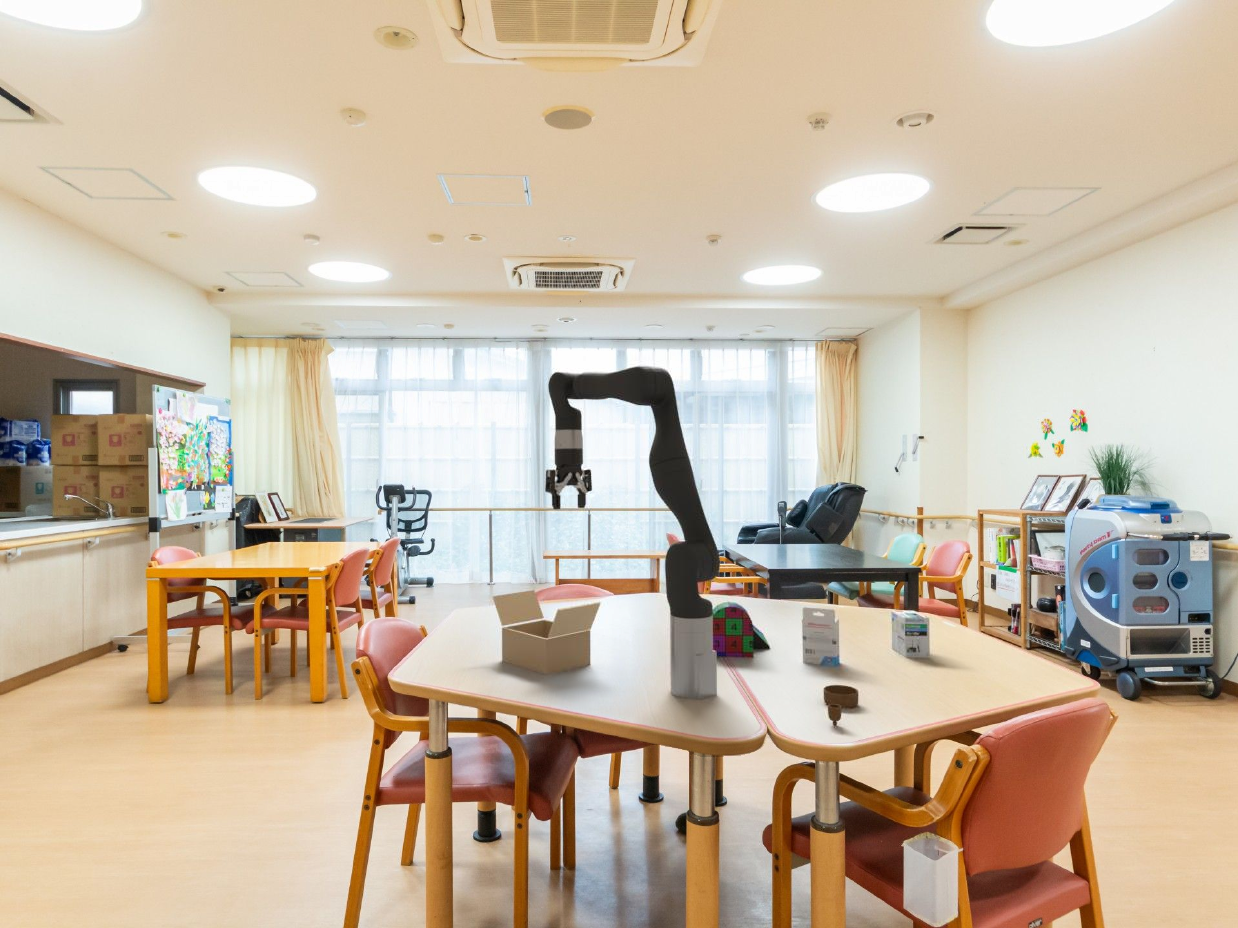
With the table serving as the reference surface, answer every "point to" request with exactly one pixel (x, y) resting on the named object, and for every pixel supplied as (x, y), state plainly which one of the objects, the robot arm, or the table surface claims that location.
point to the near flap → (574, 619)
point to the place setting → (839, 700)
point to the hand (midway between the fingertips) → (569, 508)
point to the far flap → (517, 607)
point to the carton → (544, 647)
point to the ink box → (820, 637)
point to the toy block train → (735, 632)
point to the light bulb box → (910, 634)
